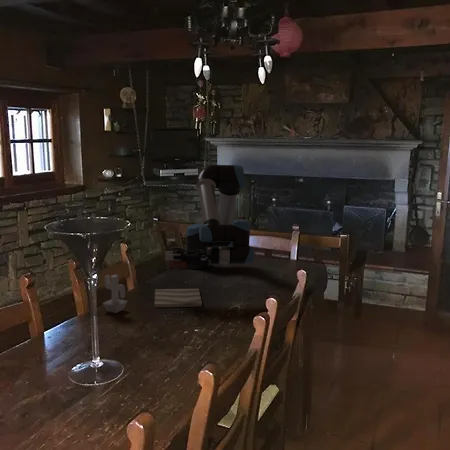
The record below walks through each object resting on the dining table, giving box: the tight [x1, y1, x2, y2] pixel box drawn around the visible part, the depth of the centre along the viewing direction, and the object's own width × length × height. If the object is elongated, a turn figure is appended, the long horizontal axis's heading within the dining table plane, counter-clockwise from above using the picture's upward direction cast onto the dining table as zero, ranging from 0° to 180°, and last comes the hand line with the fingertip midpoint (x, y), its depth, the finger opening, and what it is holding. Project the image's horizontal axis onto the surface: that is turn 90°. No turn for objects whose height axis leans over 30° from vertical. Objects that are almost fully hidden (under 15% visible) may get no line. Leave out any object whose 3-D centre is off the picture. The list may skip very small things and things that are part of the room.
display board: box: [154, 288, 203, 308], centre depth 223 cm, size 20×20×2 cm
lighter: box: [168, 246, 188, 271], centre depth 220 cm, size 8×3×10 cm, turn 86°
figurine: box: [102, 274, 128, 314], centre depth 206 cm, size 7×9×15 cm
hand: (165, 255), depth 219 cm, fingers closed on lighter, 4 cm apart
